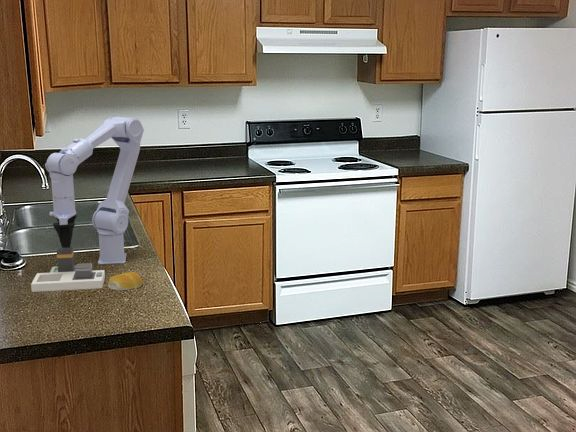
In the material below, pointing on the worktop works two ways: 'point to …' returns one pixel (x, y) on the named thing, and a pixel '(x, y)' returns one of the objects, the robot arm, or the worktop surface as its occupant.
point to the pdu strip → (69, 279)
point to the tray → (54, 269)
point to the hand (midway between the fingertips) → (66, 243)
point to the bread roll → (125, 281)
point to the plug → (65, 259)
